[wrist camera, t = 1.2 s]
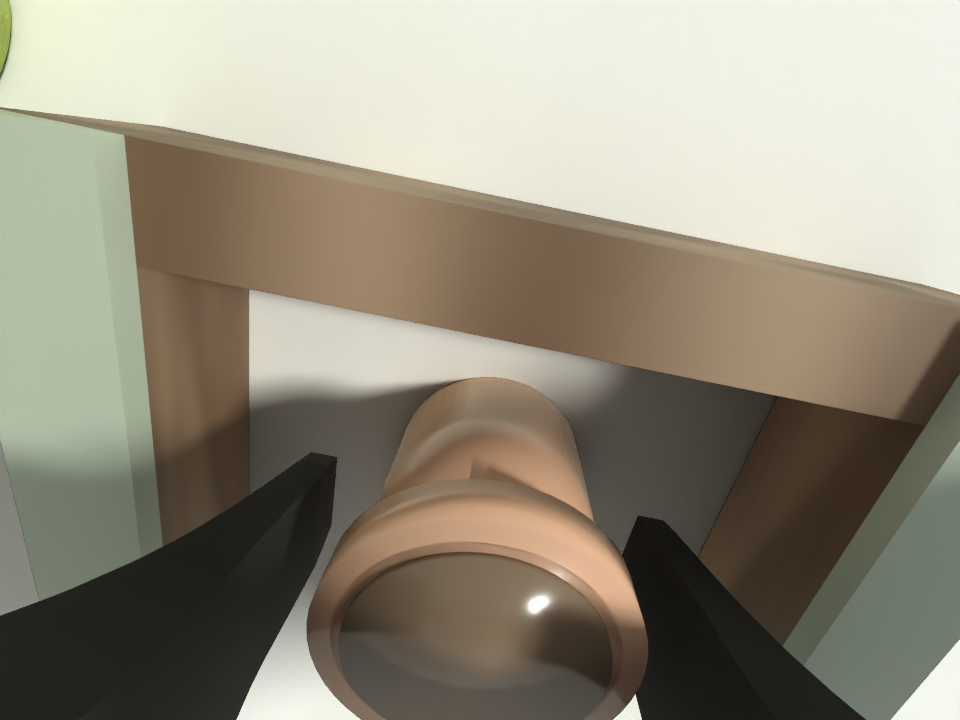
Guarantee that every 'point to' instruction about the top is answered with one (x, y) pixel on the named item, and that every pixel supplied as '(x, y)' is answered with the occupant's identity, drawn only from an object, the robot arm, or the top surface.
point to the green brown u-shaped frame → (480, 311)
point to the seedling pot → (480, 575)
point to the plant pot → (4, 30)
